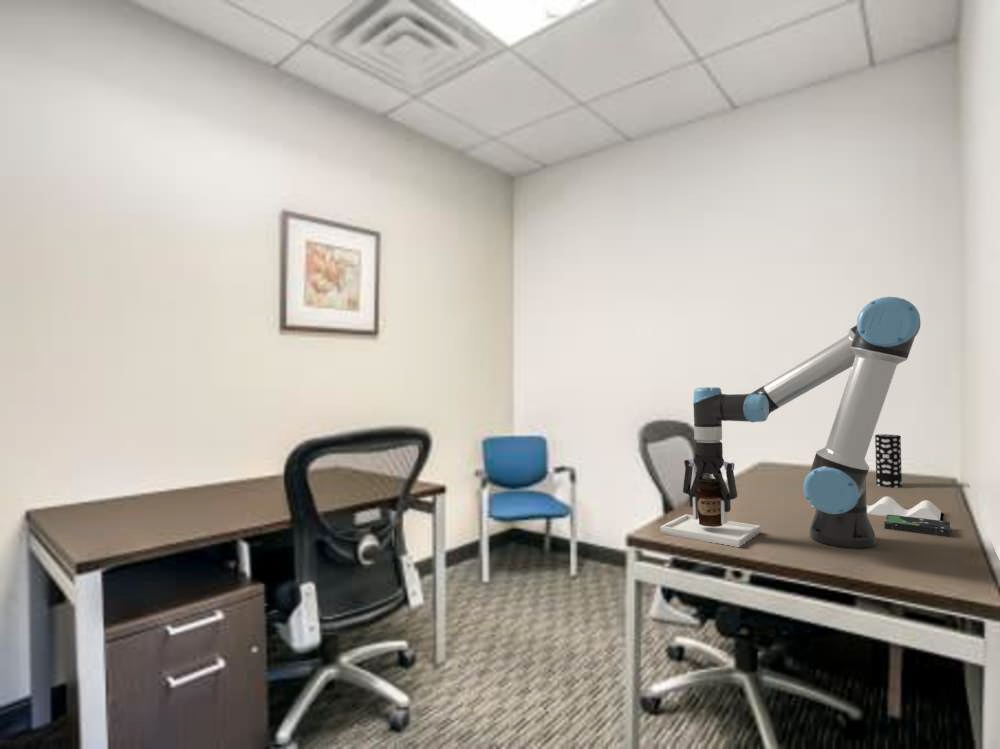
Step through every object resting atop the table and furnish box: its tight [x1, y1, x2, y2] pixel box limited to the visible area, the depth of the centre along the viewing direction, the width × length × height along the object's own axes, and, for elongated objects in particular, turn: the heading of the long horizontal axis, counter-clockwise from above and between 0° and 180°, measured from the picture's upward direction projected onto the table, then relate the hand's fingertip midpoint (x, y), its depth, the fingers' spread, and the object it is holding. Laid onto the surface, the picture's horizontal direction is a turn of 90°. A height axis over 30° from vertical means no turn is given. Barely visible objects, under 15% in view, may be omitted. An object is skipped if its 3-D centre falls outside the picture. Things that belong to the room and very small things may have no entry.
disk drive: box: [883, 514, 951, 538], centre depth 158 cm, size 10×3×15 cm
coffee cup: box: [694, 477, 723, 527], centre depth 157 cm, size 9×8×13 cm
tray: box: [659, 513, 762, 548], centre depth 158 cm, size 22×18×2 cm
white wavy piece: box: [811, 495, 945, 521], centre depth 180 cm, size 13×35×5 cm, turn 50°
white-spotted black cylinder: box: [874, 433, 903, 489], centre depth 219 cm, size 8×8×20 cm
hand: (710, 520), depth 158 cm, fingers closed on coffee cup, 7 cm apart
